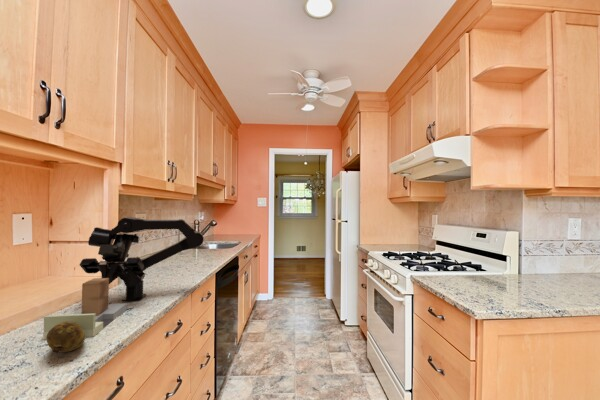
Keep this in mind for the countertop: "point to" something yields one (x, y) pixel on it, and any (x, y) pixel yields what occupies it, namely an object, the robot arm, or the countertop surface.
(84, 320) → the trap board
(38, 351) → the countertop surface
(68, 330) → the potato
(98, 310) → the walnut block
